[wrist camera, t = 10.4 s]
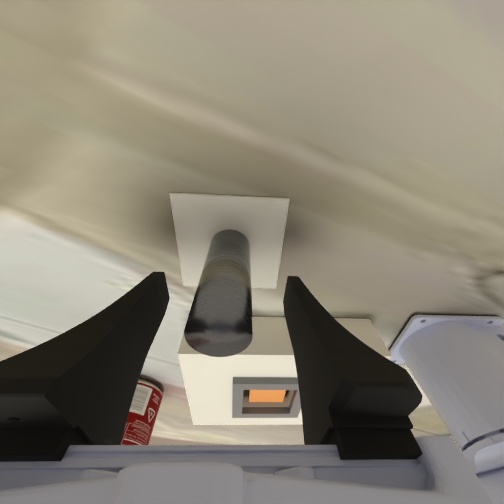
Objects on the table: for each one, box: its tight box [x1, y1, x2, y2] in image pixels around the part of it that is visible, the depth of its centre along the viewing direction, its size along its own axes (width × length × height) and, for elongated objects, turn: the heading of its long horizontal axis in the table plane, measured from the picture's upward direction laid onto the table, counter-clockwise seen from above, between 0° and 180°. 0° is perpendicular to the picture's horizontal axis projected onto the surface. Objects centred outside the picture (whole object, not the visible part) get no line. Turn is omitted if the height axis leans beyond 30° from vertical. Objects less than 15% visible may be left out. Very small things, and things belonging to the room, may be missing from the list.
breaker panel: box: [178, 317, 392, 425], centre depth 23 cm, size 18×14×5 cm
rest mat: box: [169, 192, 290, 288], centre depth 17 cm, size 8×8×1 cm
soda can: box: [121, 378, 163, 445], centre depth 23 cm, size 7×7×12 cm
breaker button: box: [249, 390, 286, 402], centre depth 23 cm, size 4×4×3 cm
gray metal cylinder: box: [184, 229, 253, 357], centre depth 13 cm, size 3×3×8 cm
